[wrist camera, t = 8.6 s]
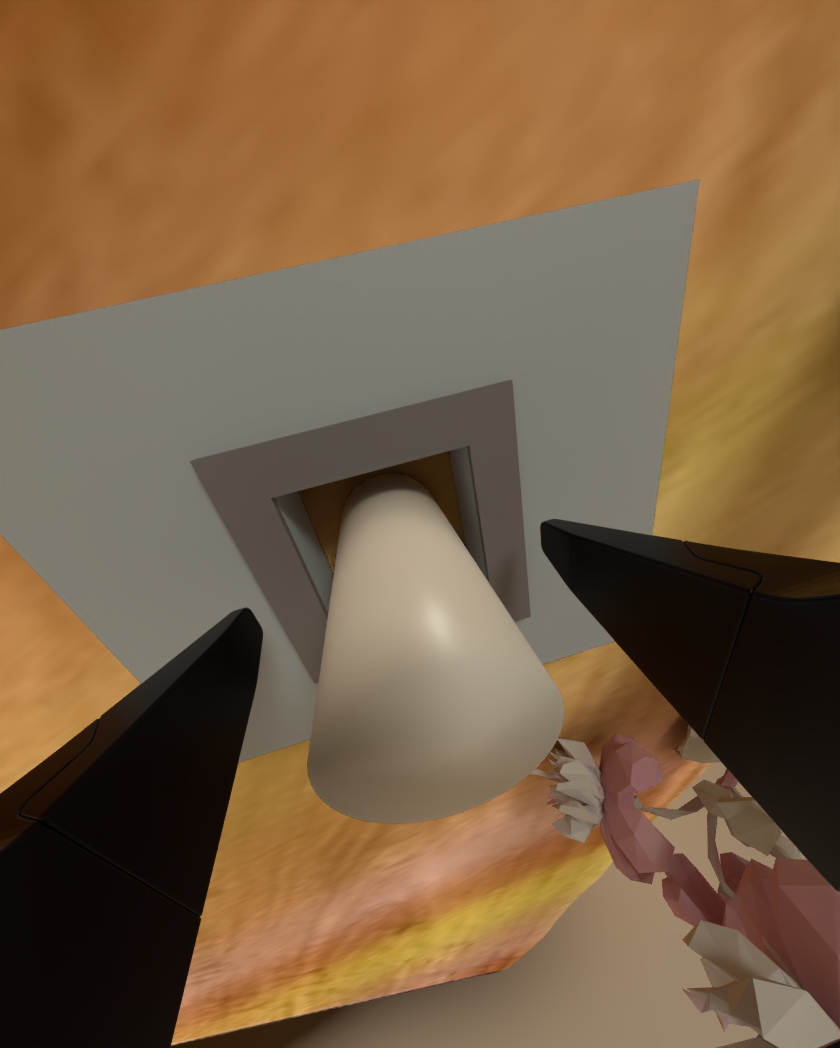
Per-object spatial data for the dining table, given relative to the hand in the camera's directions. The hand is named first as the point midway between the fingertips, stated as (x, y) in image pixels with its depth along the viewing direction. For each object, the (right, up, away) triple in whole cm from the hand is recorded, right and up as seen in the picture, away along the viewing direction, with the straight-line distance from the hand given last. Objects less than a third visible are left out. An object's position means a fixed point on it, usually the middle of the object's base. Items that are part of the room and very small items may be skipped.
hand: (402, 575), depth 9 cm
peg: (-1, +2, +4) cm, 4 cm away
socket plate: (-1, +2, +4) cm, 4 cm away
